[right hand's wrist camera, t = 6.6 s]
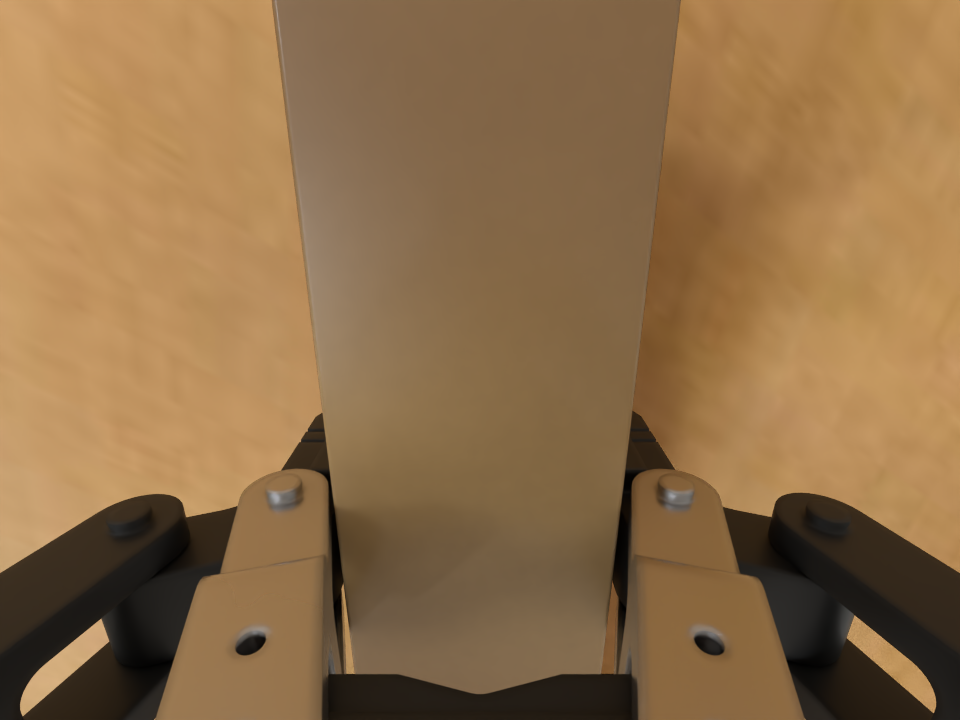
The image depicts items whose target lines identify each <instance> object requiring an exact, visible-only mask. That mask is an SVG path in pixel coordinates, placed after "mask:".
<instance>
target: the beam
mask: <svg viewBox="0 0 960 720" xmlns="http://www.w3.org/2000/svg"><path fill="white" fill-rule="evenodd" d="M680 3H681V0H272V7H273V15H274V23H275V31H276V39H277V47H278V56H279V64H280V72H281V80H282V88H283V96H284V104H285V112H286V120H287V128H288V137H289V145H290V153H291V161H292V169H293V177H294V185H295V193H296V201H297V209H298V218H299V226H300V234H301V242H302V250H303V258H304V266H305V274H306V282H307V291H308V299H309V307H310V315H311V323H312V331H313V339H314V347H315V355H316V363H317V372H318V380H319V388H320V396H321V404H322V412H323V420H324V428H325V436H326V445H327V453H328V461H329V469H330V477H331V485H332V493H333V501H334V509H335V517H336V526H337V534H338V542H339V550H340V558H341V566H342V574H343V582H344V590H345V598H346V607H347V615H348V623H349V631H350V639H351V647H352V655H353V663H354V671H355V674H400V675H404V676H408V677H411V678H415V679H419V680H423V681H427V682H431V683H434V684H438V685H442V686H446V687H450V688H454V689H457V690H461V691H465V692H469V693H474V694H486V693H491V692H495V691H499V690H503V689H506V688H510V687H514V686H518V685H522V684H526V683H529V682H533V681H537V680H541V679H545V678H549V677H552V676H556V675H560V674H601V671H602V663H603V654H604V646H605V637H606V629H607V621H608V612H609V604H610V595H611V587H612V578H613V570H614V561H615V553H616V544H617V536H618V527H619V519H620V511H621V502H622V494H623V485H624V477H625V468H626V460H627V451H628V443H629V434H630V426H631V417H632V409H633V401H634V392H635V384H636V375H637V367H638V358H639V350H640V341H641V333H642V324H643V316H644V307H645V299H646V291H647V282H648V274H649V265H650V257H651V248H652V240H653V231H654V223H655V214H656V206H657V198H658V189H659V181H660V172H661V164H662V155H663V147H664V138H665V130H666V121H667V113H668V104H669V96H670V88H671V79H672V71H673V62H674V54H675V45H676V37H677V28H678V20H679V11H680Z"/></svg>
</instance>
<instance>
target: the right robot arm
mask: <svg viewBox="0 0 960 720" xmlns="http://www.w3.org/2000/svg"><path fill="white" fill-rule="evenodd" d="M612 581H613V584H614V587H615V590H616V593H617V596H618V599H617V607H616V629H615V657H614V674H560V675H556V676H552V677H549V678H545V679H541V680H537V681H533V682H529V683H526V684H522V685H518V686H514V687H510V688H506V689H503V690H499V691H495V692H491V693H486V694H474V693H469V692H465V691H461V690H457V689H454V688H450V687H446V686H442V685H438V684H434V683H431V682H427V681H423V680H419V679H415V678H411V677H408V676H404V675H400V674H346V655H345V627H344V607H343V599H342V591H341V588H342V585H343V574H342V566H341V558H340V550H339V542H338V534H337V526H336V517H335V509H334V501H333V493H332V485H331V477H330V469H329V461H328V453H327V445H326V436H325V428H324V420H323V413H321V414H320V415H318V416H317V417H316V418H315V419H314V421H313V422H312V424H311V425H310V427H309V428H308V432H306V433H305V435H304V436H303V438H302V439H301V442H299V444H298V445H297V447H296V448H295V450H294V452H293V453H292V455H291V456H290V458H289V459H288V461H287V462H286V464H285V465H284V467H283V468H282V470H281V471H278V472H275V473H272V474H269V475H266V476H264V477H262V478H260V479H258V480H256V481H255V482H253V483H252V484H251V485H249V486H248V487H247V488H246V489H245V490H244V492H243V493H242V494H241V497H240V499H239V503H238V506H236V507H233V508H230V509H226V510H222V511H217V512H212V513H207V514H201V515H196V516H191V517H186V515H185V511H184V507H183V504H182V502H181V501H180V500H179V499H178V498H176V497H173V496H171V495H165V494H152V495H144V496H139V497H134V498H131V499H127V500H124V501H121V502H119V503H116V504H114V505H112V506H109V507H107V508H105V509H104V510H102V511H100V512H98V513H97V514H95V515H93V516H92V517H90V518H89V519H87V520H85V521H84V522H82V523H81V524H79V525H77V526H76V527H74V528H72V529H71V530H69V531H68V532H66V533H64V534H63V535H61V536H60V537H58V538H56V539H55V540H53V541H51V542H50V543H48V544H47V545H45V546H43V547H42V548H40V549H39V550H37V551H35V552H34V553H32V554H30V555H29V556H27V557H26V558H24V559H22V560H21V561H19V562H18V563H16V564H14V565H13V566H11V567H10V568H8V569H6V570H5V571H3V572H1V573H0V720H154V719H155V718H156V719H155V720H805V719H806V720H960V573H959V572H957V571H955V570H954V569H952V568H950V567H949V566H947V565H946V564H944V563H942V562H941V561H939V560H938V559H936V558H934V557H933V556H931V555H929V554H928V553H926V552H925V551H923V550H921V549H920V548H918V547H917V546H915V545H913V544H912V543H910V542H909V541H907V540H905V539H904V538H902V537H900V536H899V535H897V534H896V533H894V532H892V531H891V530H889V529H888V528H886V527H884V526H883V525H881V524H879V523H878V522H876V521H875V520H873V519H871V518H870V517H868V516H867V515H865V514H863V513H862V512H860V511H858V510H857V509H855V508H853V507H851V506H849V505H847V504H845V503H843V502H840V501H837V500H835V499H832V498H828V497H825V496H821V495H816V494H810V493H791V494H786V495H783V496H781V497H780V498H778V500H777V501H776V503H775V506H774V510H773V514H772V517H767V516H762V515H757V514H752V513H747V512H742V511H737V510H733V509H728V508H725V507H722V503H721V499H720V497H719V494H718V493H717V491H716V490H715V489H714V488H713V487H712V486H711V485H709V484H708V483H707V482H705V481H704V480H702V479H700V478H698V477H696V476H694V475H691V474H689V473H685V472H682V471H677V470H675V469H674V467H673V466H672V464H671V463H670V461H669V459H668V458H667V456H666V455H665V453H664V452H663V450H662V448H661V447H660V445H659V444H658V442H656V439H655V437H654V436H653V434H652V433H651V431H649V428H648V426H647V425H646V423H645V422H644V420H643V419H642V417H641V416H640V415H638V414H637V413H635V412H634V411H632V417H631V426H630V434H629V443H628V451H627V460H626V468H625V477H624V485H623V494H622V502H621V511H620V519H619V527H618V536H617V544H616V553H615V561H614V570H613V578H612ZM854 615H855V616H857V617H858V618H859V619H860V620H861V621H863V622H864V623H865V624H866V625H868V626H869V627H870V628H871V629H873V630H874V631H875V632H876V633H877V634H879V635H880V636H881V637H882V638H884V639H885V640H886V641H887V642H889V643H890V644H891V645H892V646H893V647H895V648H896V649H897V650H898V651H900V652H901V653H902V654H903V655H905V656H906V657H907V658H908V659H909V660H911V661H912V662H913V663H914V664H915V665H916V666H917V667H918V668H919V669H920V670H921V671H922V672H923V673H924V675H925V676H926V677H927V679H928V681H929V682H930V684H931V686H932V688H933V690H934V693H935V696H936V709H935V712H934V713H932V712H931V711H930V710H929V709H928V708H927V707H925V706H924V705H923V704H922V703H921V702H920V701H919V700H917V699H916V698H915V697H914V696H913V695H912V694H910V693H909V692H908V691H907V690H906V689H905V688H904V687H902V686H901V685H900V684H899V683H898V682H897V681H895V680H894V679H893V678H892V677H891V676H890V675H888V674H887V673H886V672H885V671H884V670H883V669H882V668H880V667H879V666H878V665H877V664H876V663H875V662H873V661H872V660H871V659H870V658H869V657H868V656H867V655H865V654H864V653H863V652H862V651H861V650H860V649H858V648H857V647H856V646H855V645H854V644H853V643H852V642H850V641H849V640H848V639H847V635H848V632H849V629H850V626H851V624H852V621H853V618H854ZM100 619H102V622H103V624H104V627H105V630H106V633H107V636H108V638H109V641H110V642H108V643H107V644H106V645H105V646H104V647H103V648H101V649H100V650H99V651H98V652H97V653H96V654H95V655H93V656H92V657H91V658H90V659H89V660H88V661H86V662H85V663H84V664H83V665H82V666H81V667H80V668H78V669H77V670H76V671H75V672H74V673H73V674H71V675H70V676H69V677H68V678H67V679H66V680H65V681H63V682H62V683H61V684H60V685H59V686H58V687H56V688H55V689H54V690H53V691H52V692H51V693H50V694H48V695H47V696H46V697H45V698H44V699H43V700H41V701H40V702H39V703H38V704H37V705H36V706H35V707H33V708H32V709H31V710H30V711H29V712H28V713H26V714H25V715H24V716H22V714H21V711H20V701H21V697H22V694H23V692H24V690H25V688H26V686H27V684H28V683H29V681H30V680H31V678H32V677H33V676H34V674H35V673H36V672H37V671H38V670H39V669H40V668H41V667H42V666H43V665H44V664H46V663H47V662H48V661H49V660H51V659H52V658H53V657H54V656H55V655H57V654H58V653H59V652H60V651H62V650H63V649H64V648H65V647H67V646H68V645H69V644H70V643H71V642H73V641H74V640H75V639H76V638H78V637H79V636H80V635H81V634H83V633H84V632H85V631H86V630H87V629H89V628H90V627H91V626H92V625H94V624H95V623H96V622H97V621H99V620H100ZM804 718H805V719H804Z"/></svg>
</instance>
